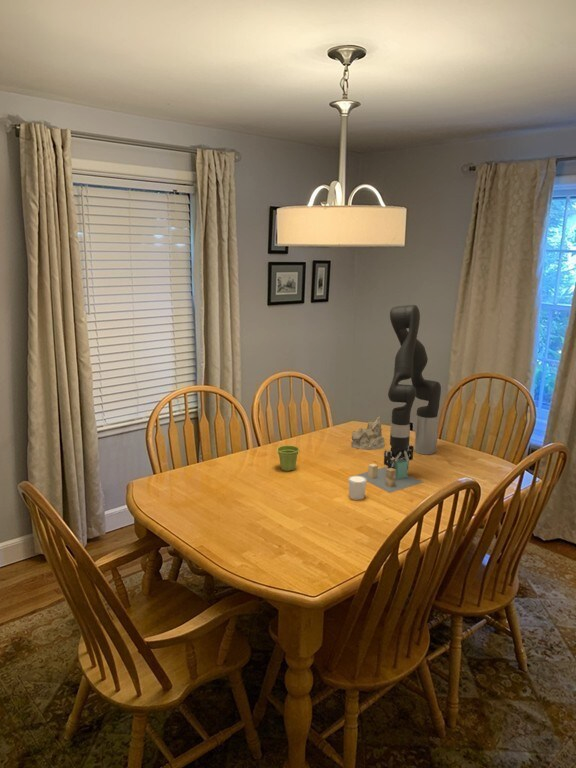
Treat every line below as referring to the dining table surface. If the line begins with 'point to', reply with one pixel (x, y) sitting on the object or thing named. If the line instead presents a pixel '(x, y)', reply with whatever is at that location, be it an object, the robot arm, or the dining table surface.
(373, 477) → the board
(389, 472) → the post tall
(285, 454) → the plant pot
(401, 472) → the teal block
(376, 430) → the ceramic cottage
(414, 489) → the dining table surface
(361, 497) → the white cylinder
